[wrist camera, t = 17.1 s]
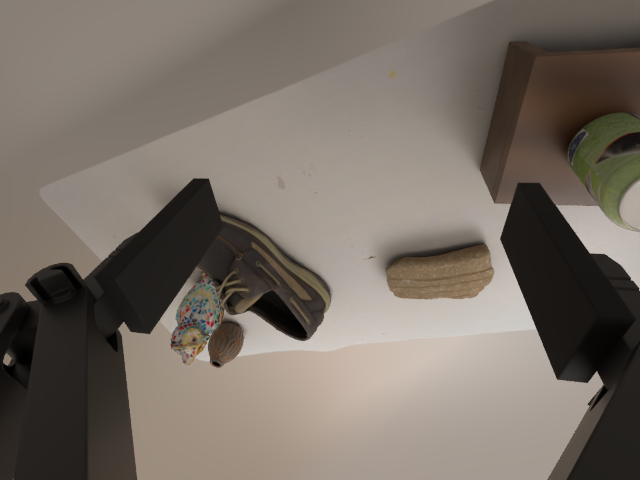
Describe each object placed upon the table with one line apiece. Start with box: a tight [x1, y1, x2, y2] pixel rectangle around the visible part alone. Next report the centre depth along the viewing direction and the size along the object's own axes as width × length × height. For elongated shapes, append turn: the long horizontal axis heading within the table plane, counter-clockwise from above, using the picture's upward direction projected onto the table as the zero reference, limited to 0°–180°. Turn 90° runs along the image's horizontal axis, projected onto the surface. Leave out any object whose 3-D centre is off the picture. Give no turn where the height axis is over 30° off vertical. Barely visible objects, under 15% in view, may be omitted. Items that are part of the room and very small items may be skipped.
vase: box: [208, 323, 244, 368], centre depth 69 cm, size 7×7×9 cm
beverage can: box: [567, 112, 640, 232], centre depth 25 cm, size 6×7×12 cm
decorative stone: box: [386, 245, 494, 299], centre depth 52 cm, size 10×16×4 cm, turn 110°
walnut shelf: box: [480, 41, 640, 206], centre depth 33 cm, size 14×14×8 cm
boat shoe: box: [197, 215, 331, 341], centre depth 54 cm, size 11×29×11 cm, turn 58°
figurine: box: [171, 272, 224, 365], centre depth 59 cm, size 9×9×15 cm
